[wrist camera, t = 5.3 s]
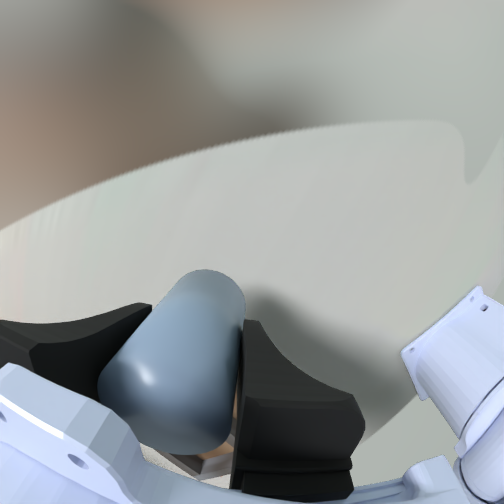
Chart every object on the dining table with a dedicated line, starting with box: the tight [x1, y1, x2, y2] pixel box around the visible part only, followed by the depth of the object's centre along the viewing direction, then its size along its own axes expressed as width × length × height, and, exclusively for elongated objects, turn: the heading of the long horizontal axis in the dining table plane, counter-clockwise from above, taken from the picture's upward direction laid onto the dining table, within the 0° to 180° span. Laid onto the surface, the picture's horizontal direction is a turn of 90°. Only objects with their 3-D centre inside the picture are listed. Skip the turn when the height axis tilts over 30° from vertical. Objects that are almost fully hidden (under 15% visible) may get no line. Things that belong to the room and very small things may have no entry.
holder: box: [154, 385, 237, 481], centre depth 20 cm, size 12×12×3 cm
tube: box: [97, 270, 246, 455], centre depth 10 cm, size 4×4×8 cm
